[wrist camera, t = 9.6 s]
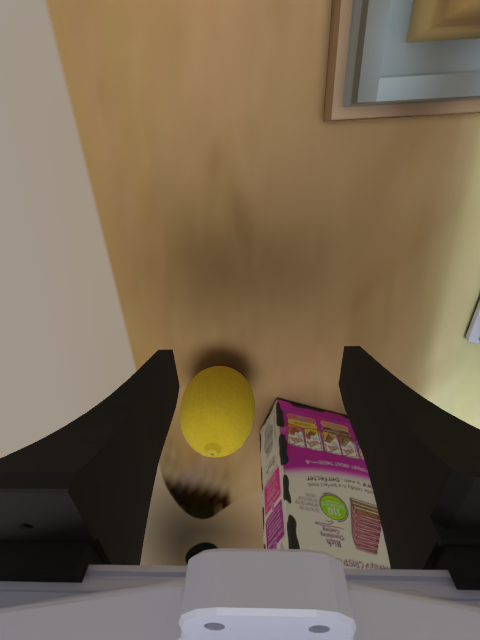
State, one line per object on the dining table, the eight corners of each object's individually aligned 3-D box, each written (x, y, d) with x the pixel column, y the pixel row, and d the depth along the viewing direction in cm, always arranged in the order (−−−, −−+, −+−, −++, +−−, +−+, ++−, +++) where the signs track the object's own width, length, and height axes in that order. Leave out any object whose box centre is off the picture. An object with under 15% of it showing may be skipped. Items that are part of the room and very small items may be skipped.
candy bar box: (257, 432, 31) (263, 686, 17) (275, 396, 28) (299, 658, 14) (361, 456, 32) (449, 710, 18) (387, 424, 30) (512, 689, 15)
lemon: (177, 365, 27) (151, 445, 20) (230, 335, 25) (221, 411, 18) (215, 405, 29) (204, 489, 22) (266, 380, 27) (272, 463, 20)
